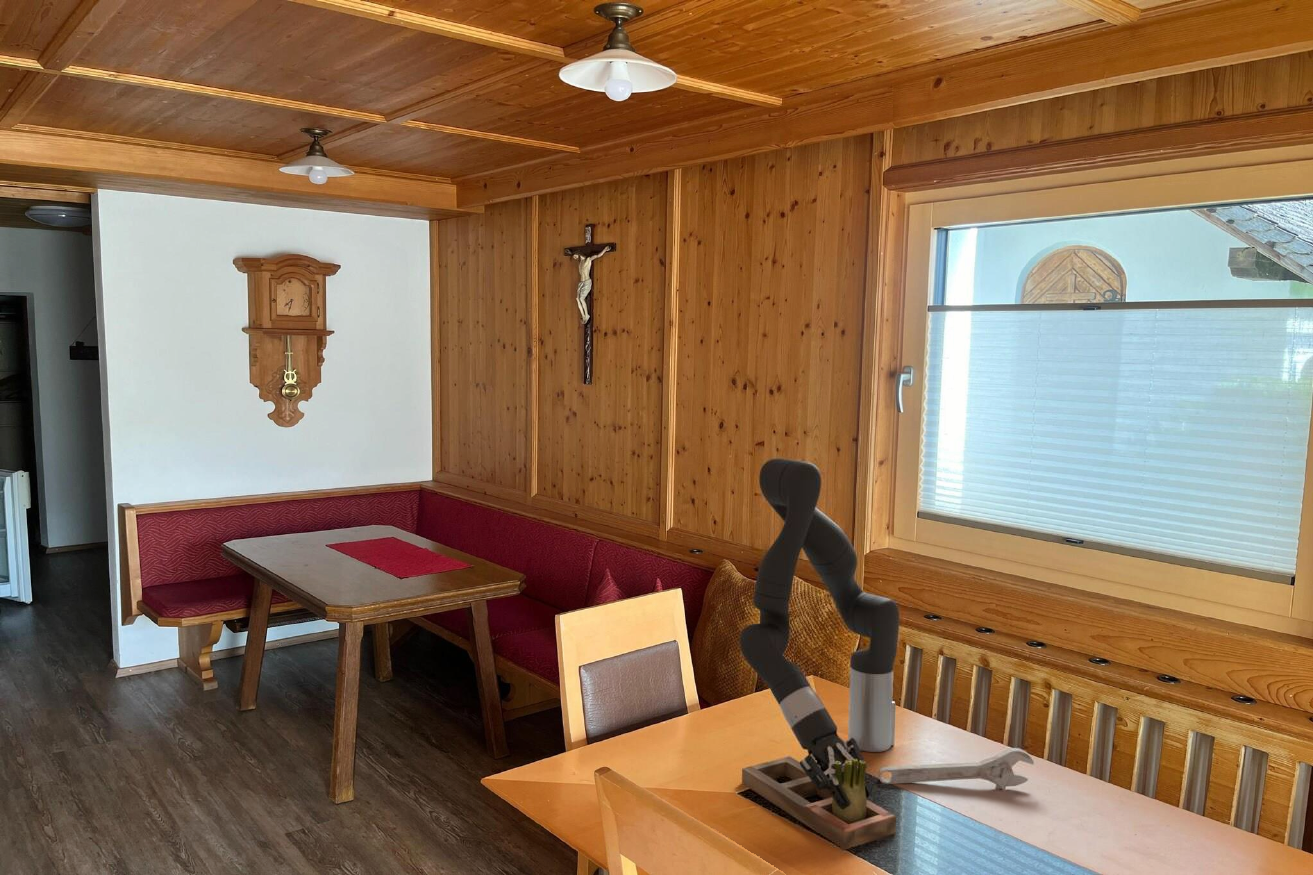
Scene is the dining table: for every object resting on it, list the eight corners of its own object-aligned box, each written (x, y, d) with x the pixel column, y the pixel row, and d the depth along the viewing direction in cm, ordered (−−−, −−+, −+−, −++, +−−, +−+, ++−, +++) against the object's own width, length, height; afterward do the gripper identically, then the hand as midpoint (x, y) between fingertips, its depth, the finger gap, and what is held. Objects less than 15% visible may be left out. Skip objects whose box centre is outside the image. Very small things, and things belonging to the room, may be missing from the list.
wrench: (879, 793, 191) (1033, 786, 188) (880, 797, 190) (1036, 790, 186) (876, 754, 191) (1030, 746, 187) (877, 758, 189) (1033, 750, 185)
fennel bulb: (829, 827, 169) (833, 762, 169) (834, 815, 174) (837, 751, 173) (862, 833, 167) (866, 767, 167) (866, 821, 172) (869, 757, 171)
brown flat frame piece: (789, 770, 195) (789, 754, 194) (895, 833, 169) (896, 815, 169) (741, 782, 189) (742, 766, 188) (844, 850, 163) (845, 831, 163)
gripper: (793, 716, 170) (844, 805, 162) (843, 698, 179) (894, 781, 171) (770, 736, 175) (819, 823, 166) (821, 717, 184) (869, 799, 176)
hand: (857, 801), depth 169 cm, fingers open, 5 cm apart
